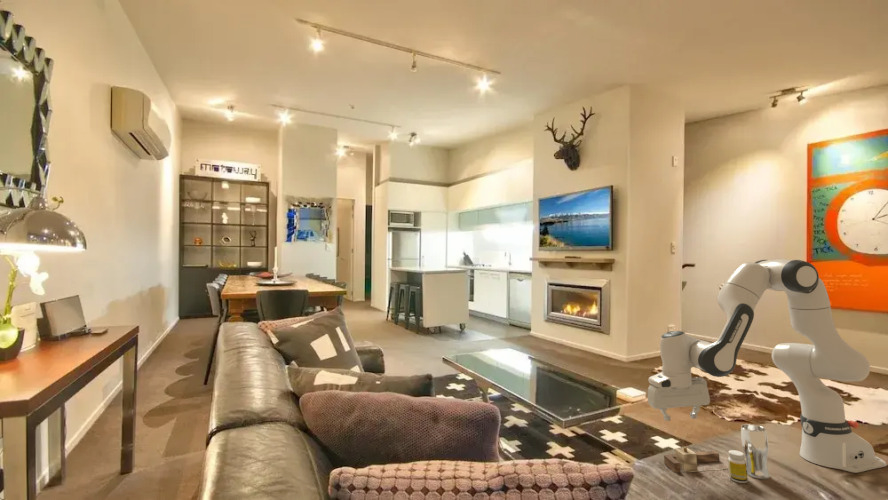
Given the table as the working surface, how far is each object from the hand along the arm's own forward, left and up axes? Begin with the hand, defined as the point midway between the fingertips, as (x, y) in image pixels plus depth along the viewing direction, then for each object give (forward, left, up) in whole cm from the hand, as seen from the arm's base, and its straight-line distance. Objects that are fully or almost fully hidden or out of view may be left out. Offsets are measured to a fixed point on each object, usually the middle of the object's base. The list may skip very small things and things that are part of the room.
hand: (680, 419), depth 139 cm
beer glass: (-19, +8, -16) cm, 27 cm away
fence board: (-5, -1, -16) cm, 17 cm away
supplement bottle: (-11, +10, -16) cm, 22 cm away
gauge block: (-1, 0, -16) cm, 16 cm away
